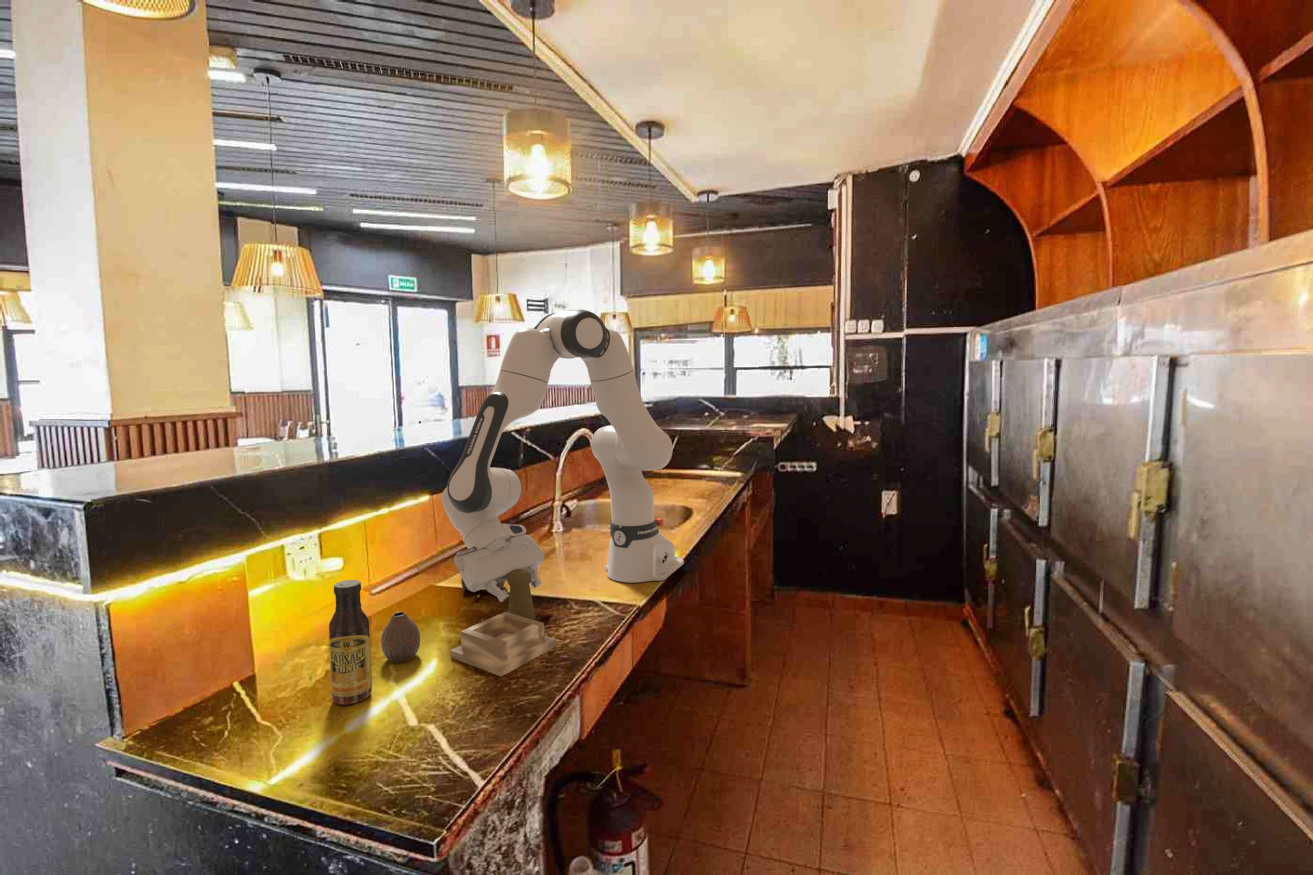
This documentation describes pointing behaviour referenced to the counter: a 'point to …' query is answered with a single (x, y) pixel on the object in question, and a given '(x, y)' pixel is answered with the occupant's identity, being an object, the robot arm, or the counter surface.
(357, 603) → the sauce bottle
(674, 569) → the robot arm
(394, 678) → the counter surface
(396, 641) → the vase
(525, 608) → the cork
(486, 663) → the shaker holder
